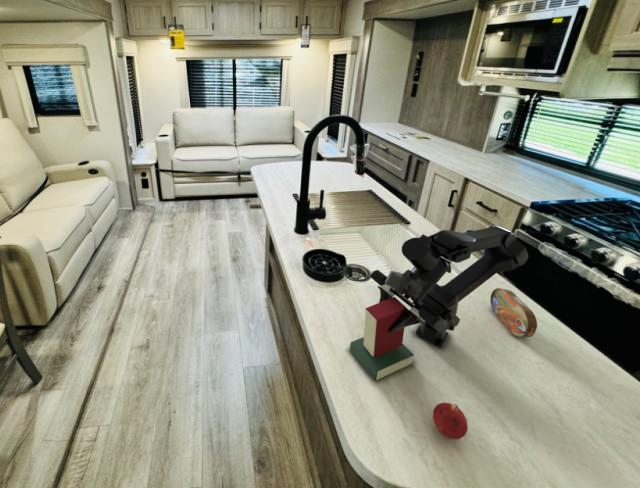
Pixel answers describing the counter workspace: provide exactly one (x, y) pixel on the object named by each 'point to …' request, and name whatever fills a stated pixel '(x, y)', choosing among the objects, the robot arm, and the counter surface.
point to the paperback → (383, 327)
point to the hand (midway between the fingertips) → (382, 325)
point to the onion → (450, 420)
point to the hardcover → (381, 359)
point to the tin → (513, 313)
